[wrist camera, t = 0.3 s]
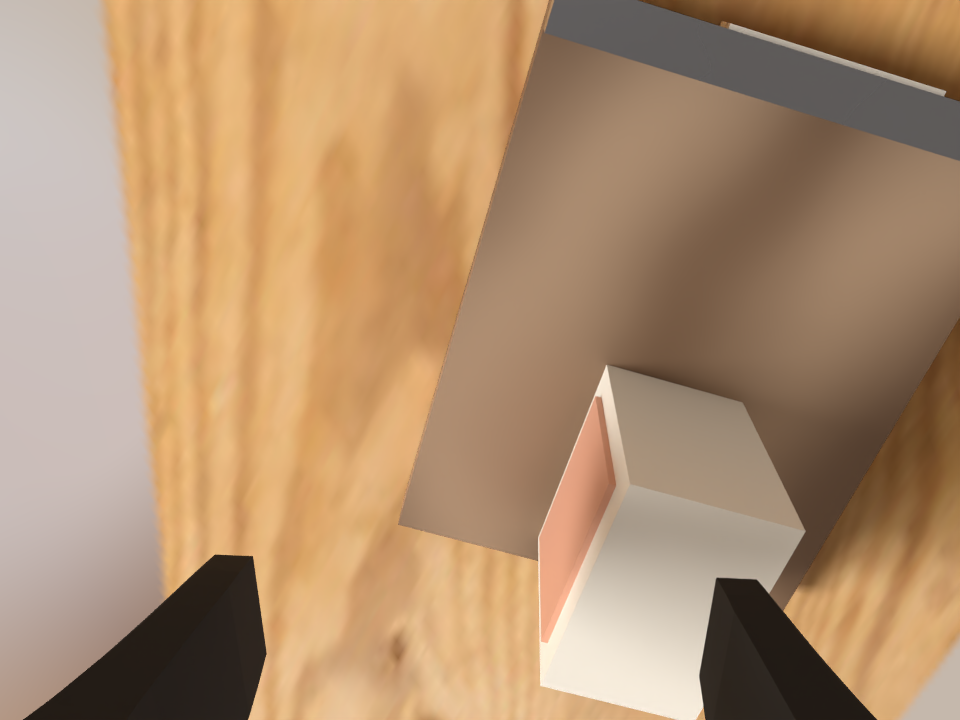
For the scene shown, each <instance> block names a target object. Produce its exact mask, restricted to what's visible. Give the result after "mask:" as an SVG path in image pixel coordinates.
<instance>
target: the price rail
mask: <svg viewBox="0 0 960 720" xmlns="http://www.w3.org/2000/svg"><path fill="white" fill-rule="evenodd" d="M543 29H544V33H546V34H550V35H553V36H556V37H559V38H562V39H566V40H569V41H572V42H575V43H579V44H582V45H585V46H588V47H592V48H595V49H598V50H601V51H605V52H608V53H611V54H614V55H618V56H621V57H624V58H627V59H631V60H634V61H637V62H640V63H643V64H647V65H650V66H653V67H656V68H660V69H663V70H666V71H669V72H673V73H676V74H679V75H682V76H686V77H689V78H692V79H695V80H699V81H702V82H705V83H708V84H712V85H715V86H718V87H721V88H724V89H728V90H731V91H734V92H737V93H741V94H744V95H747V96H750V97H754V98H757V99H760V100H763V101H767V102H770V103H773V104H776V105H780V106H783V107H786V108H789V109H793V110H796V111H799V112H802V113H805V114H809V115H812V116H815V117H818V118H822V119H825V120H828V121H831V122H835V123H838V124H841V125H844V126H848V127H851V128H854V129H857V130H861V131H864V132H867V133H870V134H873V135H877V136H880V137H883V138H886V139H890V140H893V141H896V142H899V143H903V144H906V145H909V146H912V147H916V148H919V149H922V150H925V151H929V152H932V153H935V154H938V155H942V156H945V157H948V158H951V159H954V160H958V161H960V101H956V100H953V99H950V98H947V97H944V95H945V93H946V91H944V90H941V89H937V88H934V87H931V86H928V85H925V84H922V83H918V82H915V81H912V80H909V79H906V78H903V77H899V76H896V75H893V74H890V73H887V72H884V71H880V70H877V69H874V68H871V67H868V66H864V65H861V64H858V63H855V62H852V61H849V60H845V59H842V58H839V57H836V56H833V55H830V54H826V53H823V52H820V51H817V50H814V49H811V48H807V47H804V46H801V45H798V44H795V43H791V42H788V41H785V40H782V39H779V38H776V37H772V36H769V35H766V34H763V33H760V32H757V31H753V30H750V29H747V28H744V27H741V26H738V25H734V24H731V23H728V22H724V21H721V23H720V26H718V25H715V24H711V23H708V22H705V21H702V20H699V19H696V18H692V17H689V16H686V15H683V14H680V13H677V12H673V11H670V10H667V9H664V8H661V7H657V6H654V5H651V4H648V3H645V2H642V1H638V0H552V1H551V5H550V8H549V11H548V15H547V18H546V22H545V25H544V28H543Z"/></svg>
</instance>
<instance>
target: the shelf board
mask: <svg viewBox="0 0 960 720" xmlns="http://www.w3.org/2000/svg"><path fill="white" fill-rule="evenodd" d="M551 1H552V0H549V3H548V6H547V10H546V13H545V16H544V20H543V23H542V27H541V30H540V33H539V37H538V40H537V44H536V47H535V51H534V54H533V57H532V61H531V64H530V68H529V71H528V75H527V78H526V81H525V85H524V88H523V92H522V95H521V99H520V102H519V105H518V109H517V112H516V116H515V119H514V123H513V126H512V129H511V133H510V136H509V140H508V143H507V147H506V150H505V153H504V157H503V160H502V164H501V167H500V171H499V174H498V177H497V181H496V184H495V188H494V191H493V195H492V198H491V201H490V205H489V208H488V212H487V215H486V219H485V222H484V225H483V229H482V232H481V236H480V239H479V242H478V246H477V249H476V253H475V256H474V260H473V263H472V266H471V270H470V273H469V277H468V280H467V284H466V287H465V290H464V294H463V297H462V301H461V304H460V308H459V311H458V314H457V318H456V321H455V325H454V328H453V332H452V335H451V338H450V342H449V345H448V349H447V352H446V356H445V359H444V362H443V366H442V369H441V373H440V376H439V380H438V383H437V386H436V390H435V393H434V397H433V400H432V404H431V407H430V410H429V414H428V417H427V421H426V424H425V428H424V431H423V434H422V438H421V441H420V445H419V448H418V451H417V455H416V458H415V462H414V465H413V469H412V472H411V475H410V479H409V482H408V486H407V489H406V493H405V497H404V501H403V506H402V510H401V514H400V518H399V523H398V525H402V526H406V527H409V528H413V529H417V530H421V531H425V532H429V533H433V534H436V535H440V536H444V537H448V538H452V539H456V540H460V541H463V542H467V543H471V544H475V545H479V546H483V547H487V548H490V549H494V550H498V551H502V552H506V553H510V554H514V555H517V556H521V557H525V558H529V559H533V560H537V561H538V537H539V534H540V532H541V529H542V527H543V524H544V522H545V519H546V517H547V514H548V512H549V509H550V507H551V504H552V502H553V499H554V496H555V494H556V491H557V489H558V486H559V484H560V481H561V479H562V476H563V474H564V471H565V469H566V466H567V464H568V461H569V459H570V456H571V453H572V451H573V448H574V446H575V443H576V441H577V438H578V436H579V433H580V431H581V428H582V426H583V423H584V421H585V418H586V416H587V413H588V411H589V408H590V405H591V403H592V400H593V398H594V395H595V393H596V390H597V388H598V385H599V383H600V380H601V378H602V375H603V373H604V370H605V368H606V365H610V366H614V367H617V368H621V369H625V370H628V371H632V372H635V373H639V374H643V375H646V376H650V377H653V378H657V379H660V380H664V381H668V382H671V383H675V384H678V385H682V386H686V387H689V388H693V389H696V390H700V391H703V392H707V393H711V394H714V395H718V396H721V397H725V398H728V399H732V400H736V401H739V402H743V404H744V406H745V408H746V410H747V412H748V414H749V416H750V418H751V421H752V423H753V425H754V427H755V429H756V431H757V433H758V435H759V437H760V439H761V441H762V443H763V445H764V447H765V449H766V451H767V453H768V455H769V457H770V459H771V461H772V463H773V465H774V467H775V470H776V472H777V474H778V476H779V478H780V480H781V482H782V484H783V486H784V488H785V490H786V492H787V494H788V496H789V498H790V500H791V502H792V504H793V506H794V508H795V510H796V512H797V514H798V517H799V519H800V521H801V523H802V525H803V527H804V529H805V531H806V532H805V533H804V535H803V537H802V538H801V540H800V542H799V544H798V545H797V547H796V549H795V550H794V552H793V554H792V556H791V557H790V559H789V561H788V562H787V564H786V566H785V568H784V569H783V571H782V573H781V574H780V576H779V578H778V580H777V581H776V583H775V585H774V586H773V588H772V590H771V592H770V593H769V594H770V596H771V597H772V598H773V599H774V601H775V602H776V603H777V604H778V606H779V607H780V608H781V609H782V611H783V610H784V609H785V607H786V605H787V604H788V602H789V600H790V599H791V597H792V595H793V594H794V592H795V590H796V589H797V587H798V585H799V584H800V582H801V580H802V579H803V577H804V575H805V574H806V572H807V570H808V569H809V567H810V565H811V564H812V562H813V560H814V559H815V557H816V555H817V554H818V552H819V550H820V549H821V547H822V545H823V544H824V542H825V540H826V539H827V537H828V535H829V534H830V532H831V530H832V529H833V527H834V525H835V524H836V522H837V520H838V519H839V517H840V515H841V514H842V512H843V510H844V509H845V507H846V505H847V504H848V502H849V501H850V499H851V497H852V496H853V494H854V492H855V491H856V489H857V487H858V486H859V484H860V482H861V481H862V479H863V477H864V476H865V474H866V472H867V471H868V469H869V467H870V466H871V464H872V462H873V461H874V459H875V457H876V456H877V454H878V452H879V451H880V449H881V447H882V446H883V444H884V442H885V441H886V439H887V437H888V436H889V434H890V432H891V431H892V429H893V427H894V426H895V424H896V422H897V421H898V419H899V417H900V416H901V414H902V412H903V411H904V409H905V407H906V406H907V404H908V402H909V401H910V399H911V397H912V396H913V394H914V392H915V391H916V389H917V387H918V386H919V384H920V382H921V381H922V379H923V377H924V376H925V374H926V372H927V371H928V369H929V368H930V366H931V364H932V363H933V361H934V359H935V358H936V356H937V354H938V353H939V351H940V349H941V348H942V346H943V344H944V343H945V341H946V339H947V338H948V336H949V334H950V333H951V331H952V329H953V328H954V326H955V324H956V323H957V321H958V319H959V318H960V161H958V160H954V159H951V158H948V157H945V156H942V155H938V154H935V153H932V152H929V151H925V150H922V149H919V148H916V147H912V146H909V145H906V144H903V143H899V142H896V141H893V140H890V139H886V138H883V137H880V136H877V135H873V134H870V133H867V132H864V131H861V130H857V129H854V128H851V127H848V126H844V125H841V124H838V123H835V122H831V121H828V120H825V119H822V118H818V117H815V116H812V115H809V114H805V113H802V112H799V111H796V110H793V109H789V108H786V107H783V106H780V105H776V104H773V103H770V102H767V101H763V100H760V99H757V98H754V97H750V96H747V95H744V94H741V93H737V92H734V91H731V90H728V89H724V88H721V87H718V86H715V85H712V84H708V83H705V82H702V81H699V80H695V79H692V78H689V77H686V76H682V75H679V74H676V73H673V72H669V71H666V70H663V69H660V68H656V67H653V66H650V65H647V64H643V63H640V62H637V61H634V60H631V59H627V58H624V57H621V56H618V55H614V54H611V53H608V52H605V51H601V50H598V49H595V48H592V47H588V46H585V45H582V44H579V43H575V42H572V41H569V40H566V39H562V38H559V37H556V36H553V35H550V34H546V33H544V29H543V28H544V25H545V22H546V18H547V15H548V11H549V8H550V5H551ZM657 7H658V6H657ZM692 18H693V17H692ZM711 24H712V23H711Z"/></svg>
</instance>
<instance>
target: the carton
mask: <svg viewBox="0 0 960 720" xmlns="http://www.w3.org/2000/svg"><path fill="white" fill-rule="evenodd" d="M805 532H806V531H805V529H804V527H803V525H802V523H801V521H800V519H799V517H798V514H797V512H796V510H795V508H794V506H793V504H792V502H791V500H790V498H789V496H788V494H787V492H786V490H785V488H784V486H783V484H782V482H781V480H780V478H779V476H778V474H777V472H776V470H775V467H774V465H773V463H772V461H771V459H770V457H769V455H768V453H767V451H766V449H765V447H764V445H763V443H762V441H761V439H760V437H759V435H758V433H757V431H756V429H755V427H754V425H753V423H752V421H751V418H750V416H749V414H748V412H747V410H746V408H745V406H744V404H743V402H739V401H736V400H732V399H728V398H725V397H721V396H718V395H714V394H711V393H707V392H703V391H700V390H696V389H693V388H689V387H686V386H682V385H678V384H675V383H671V382H668V381H664V380H660V379H657V378H653V377H650V376H646V375H643V374H639V373H635V372H632V371H628V370H625V369H621V368H617V367H614V366H610V365H606V368H605V370H604V373H603V375H602V378H601V380H600V383H599V385H598V388H597V390H596V393H595V395H594V398H593V400H592V403H591V405H590V408H589V411H588V413H587V416H586V418H585V421H584V423H583V426H582V428H581V431H580V433H579V436H578V438H577V441H576V443H575V446H574V448H573V451H572V453H571V456H570V459H569V461H568V464H567V466H566V469H565V471H564V474H563V476H562V479H561V481H560V484H559V486H558V489H557V491H556V494H555V496H554V499H553V502H552V504H551V507H550V509H549V512H548V514H547V517H546V519H545V522H544V524H543V527H542V529H541V532H540V534H539V537H538V564H539V626H540V686H543V687H547V688H551V689H555V690H559V691H564V692H568V693H572V694H576V695H580V696H584V697H588V698H592V699H596V700H600V701H604V702H608V703H612V704H616V705H620V706H624V707H628V708H632V709H636V710H640V711H644V712H648V713H652V714H656V715H661V716H665V717H669V718H673V719H677V720H696V718H697V717H698V715H699V713H700V712H701V710H702V708H703V699H702V693H701V686H700V679H699V673H700V667H701V662H702V656H703V650H704V644H705V639H706V633H707V627H708V622H709V616H710V610H711V605H712V599H713V593H714V588H715V582H716V578H738V579H757V580H758V581H759V582H760V584H761V585H762V586H763V587H764V588H765V589H766V591H767V592H768V593H770V592H771V590H772V588H773V586H774V585H775V583H776V581H777V580H778V578H779V576H780V574H781V573H782V571H783V569H784V568H785V566H786V564H787V562H788V561H789V559H790V557H791V556H792V554H793V552H794V550H795V549H796V547H797V545H798V544H799V542H800V540H801V538H802V537H803V535H804V533H805Z"/></svg>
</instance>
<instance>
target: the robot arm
mask: <svg viewBox="0 0 960 720" xmlns="http://www.w3.org/2000/svg"><path fill="white" fill-rule="evenodd" d="M266 654H267V653H266V646H265V639H264V632H263V625H262V618H261V611H260V604H259V596H258V589H257V582H256V575H255V568H254V561H253V556H233V555H214V556H213V557H212V558H211V559H210V560H208V561H207V562H206V563H205V564H204V565H203V566H202V567H201V568H200V569H198V570H197V571H196V572H195V573H194V574H193V575H192V576H191V577H190V578H189V579H188V580H187V581H186V582H184V583H183V584H182V585H181V586H180V587H179V588H178V589H177V590H176V591H175V592H174V593H173V594H172V595H171V596H170V597H168V598H167V599H166V600H165V601H164V602H163V603H162V604H161V605H160V606H159V607H158V608H157V609H155V610H154V612H153V613H151V614H150V615H149V616H148V617H147V618H146V619H145V620H143V621H142V622H141V623H140V624H139V625H138V626H137V627H136V628H135V629H134V630H132V631H131V632H130V633H129V634H128V635H127V636H126V637H124V638H123V639H122V640H121V641H120V642H119V643H118V644H117V645H116V646H114V647H113V648H112V649H111V650H110V651H109V652H108V653H106V654H105V655H104V656H103V657H102V658H101V659H100V660H98V661H97V662H96V663H94V664H93V665H92V666H91V667H90V668H88V669H87V670H86V671H85V672H84V673H82V674H81V675H80V676H79V677H78V678H76V679H75V680H74V681H73V682H72V683H70V684H69V685H68V686H67V687H65V688H64V689H63V690H62V691H61V692H59V693H58V694H57V695H55V696H54V697H53V698H52V699H50V700H49V701H48V702H46V703H45V704H44V705H43V706H41V707H40V708H38V709H37V710H36V711H34V712H33V713H32V714H30V715H29V716H28V717H26V718H25V719H23V720H248V718H249V715H250V712H251V708H252V705H253V701H254V698H255V695H256V691H257V688H258V684H259V680H260V676H261V673H262V669H263V665H264V661H265V657H266ZM699 679H700V686H701V693H702V699H703V706H704V713H705V719H706V720H877V719H876V718H875V717H874V716H873V715H872V714H871V713H870V712H869V711H868V710H867V708H866V707H865V706H864V705H863V704H862V703H861V702H860V701H859V700H858V699H857V698H856V697H855V695H854V694H853V693H852V692H851V691H850V690H849V689H848V687H847V686H846V685H845V684H844V683H843V682H842V681H841V680H840V678H839V677H838V676H837V675H836V674H835V673H834V672H833V671H832V669H831V668H830V667H829V666H828V665H827V664H826V663H825V661H824V660H823V659H822V658H821V657H820V655H819V654H818V653H817V652H816V651H815V650H814V648H813V647H812V646H811V645H810V644H809V642H808V641H807V640H806V639H805V638H804V636H803V635H802V634H801V633H800V631H799V630H798V629H797V628H796V627H795V625H794V624H793V623H792V622H791V620H790V619H789V618H788V617H787V615H786V614H785V613H784V612H783V611H782V609H781V608H780V607H779V606H778V604H777V603H776V602H775V601H774V599H773V598H772V597H771V596H770V594H769V593H768V592H767V591H766V589H765V588H764V587H763V586H762V585H761V584H760V582H759V581H758V580H757V579H738V578H716V582H715V588H714V593H713V599H712V605H711V610H710V616H709V622H708V627H707V633H706V639H705V644H704V650H703V656H702V662H701V667H700V673H699Z"/></svg>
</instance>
